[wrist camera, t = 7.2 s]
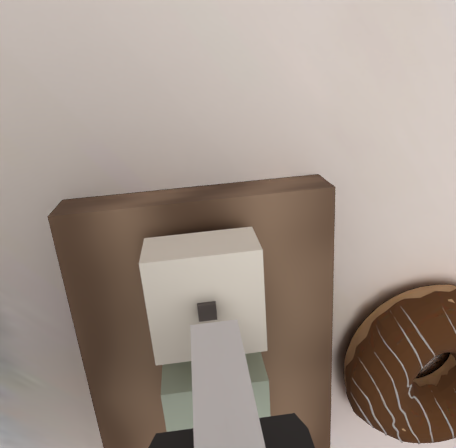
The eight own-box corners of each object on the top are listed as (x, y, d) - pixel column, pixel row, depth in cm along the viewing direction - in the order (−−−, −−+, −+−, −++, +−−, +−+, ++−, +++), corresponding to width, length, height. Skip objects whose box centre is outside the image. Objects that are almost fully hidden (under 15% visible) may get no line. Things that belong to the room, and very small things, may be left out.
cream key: (158, 330, 19) (155, 369, 16) (144, 238, 17) (138, 266, 15) (257, 317, 19) (268, 353, 17) (252, 226, 17) (263, 251, 15)
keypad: (121, 463, 27) (112, 532, 23) (62, 199, 21) (34, 231, 17) (317, 434, 28) (339, 495, 24) (318, 174, 22) (349, 198, 18)
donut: (515, 272, 25) (573, 307, 22) (469, 408, 29) (511, 458, 25) (348, 269, 24) (379, 307, 20) (321, 412, 28) (343, 466, 24)
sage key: (174, 430, 21) (173, 478, 18) (162, 357, 19) (160, 398, 17) (262, 418, 21) (273, 463, 19) (258, 345, 20) (269, 383, 17)
